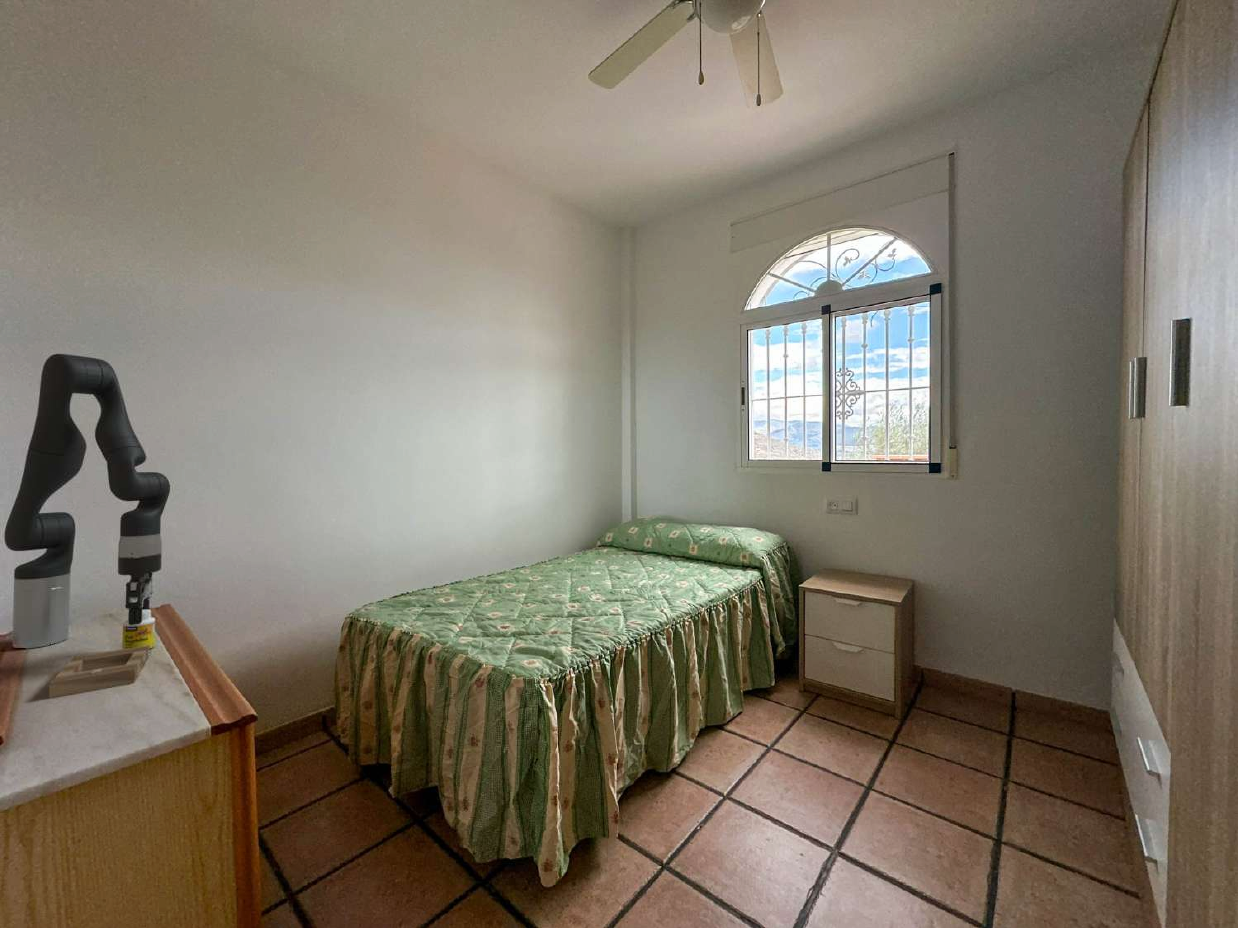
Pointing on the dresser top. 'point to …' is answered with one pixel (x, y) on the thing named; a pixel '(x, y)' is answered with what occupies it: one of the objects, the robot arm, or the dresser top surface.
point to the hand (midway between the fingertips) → (139, 619)
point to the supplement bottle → (139, 632)
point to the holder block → (99, 671)
